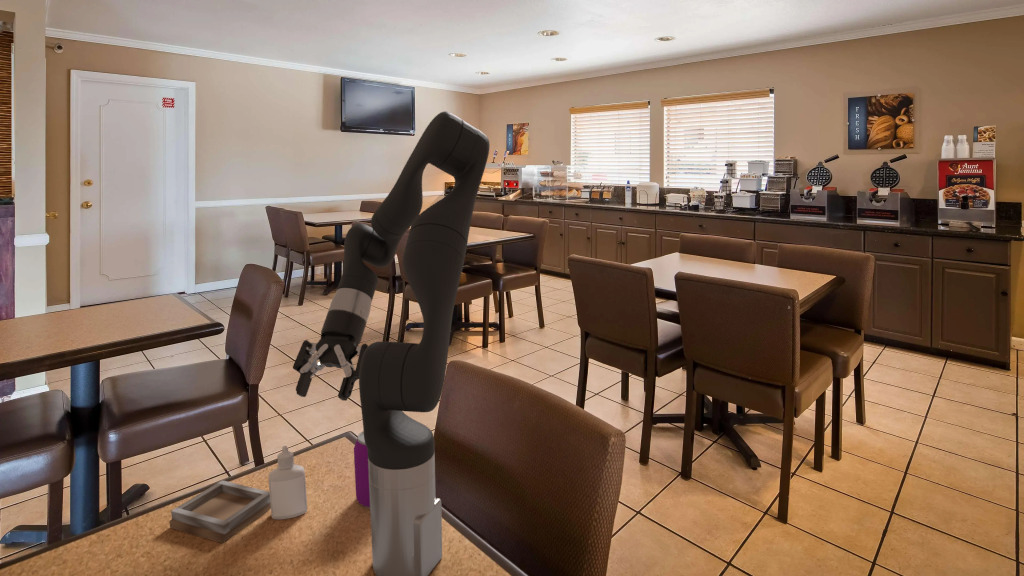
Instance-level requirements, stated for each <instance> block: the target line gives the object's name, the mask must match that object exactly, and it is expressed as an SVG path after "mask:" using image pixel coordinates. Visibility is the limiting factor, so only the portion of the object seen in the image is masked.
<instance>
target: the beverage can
mask: <svg viewBox="0 0 1024 576" xmlns="http://www.w3.org/2000/svg"><path fill="white" fill-rule="evenodd" d="M353 458H354V459H353V461H354V478H355V479H354V481H355V482H354V483H355V497H356V498H355V499H356V501H357V502H358V504H360V505H361V506H362V507H364V508H366V509H370V493H369V469H368V450H367V447H366V444H365V440H364V431H363V430H362V431H361V432H360V433H358V435H357V438H356V441H355V444H354V447H353Z"/></svg>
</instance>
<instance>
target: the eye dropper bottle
mask: <svg viewBox="0 0 1024 576" xmlns="http://www.w3.org/2000/svg"><path fill="white" fill-rule="evenodd" d="M294 459H295V458H294V452H293V451H289V449H288V446H287V445H283V446H282V448H281V452H280V453H279V454H278V455H277V467H276V468H274V469H272V470H271V471H270V472H269V473H268V492H269V493H270V505H271V508H270V515H271V516H270V517H271V518H272V519H273V520H288V519H292V518H296V517H299V516H302V515H304V514H305V513H307V511H308V503H307V502H308V501H307V500H308V499H307V485H306V472H305V468H304V467H303V466H302V465H300V464H295V461H294Z"/></svg>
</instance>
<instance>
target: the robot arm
mask: <svg viewBox="0 0 1024 576" xmlns="http://www.w3.org/2000/svg"><path fill="white" fill-rule="evenodd" d="M489 152H490V140H489V138H488V136H487V135H486V134H485V133H484V132H482V131H481V130H480V129H478V128H476V127H475V126H473V125H472V124H470V123H468V122H466V121H465V120H464V119H462V118H460V117H459V116H457V115H455V114H453V113H451V112H449V111H447V110H446V111H444V110H443V111H442V112H439V113H438V114H437V115H435V116H434V118H433V119H431V121H430V122H429V124H427V126H426V127H425V129H424V131H423V132H422V134H421V136H420V138H419V139H418V141H417V143H416V145H415V147H414V148H413V150H412V152H411V153H410V156H409V157H408V160H407V161H406V162H405V164H404V167H403V169H402V170H401V173H399V176H398V178H397V180H396V182H395V184H394V185H393V187H392V189H391V190H390V191H389V193H388V195H387V196H386V197H385V198H384V200H383V201H382V202H381V204H380V205H379V206H378V208H377V209H376V210H375V212H374V213H373V214H372V216H371V218H370V219H371V220H370V225H371V226H370V225H367V224H365V223H361V222H360V223H359V222H358V223H356V224H354V225H352V226H351V227H350V228H349V229H348V231H347V232H346V234H345V238H344V244H343V245H344V247H343V269H342V274H341V278H340V280H339V283H338V285H337V289H336V292H335V294H334V296H333V297H332V300H331V302H330V304H329V305H330V306H329V308H328V310H327V313H326V316H325V319H324V322H323V325H322V328H321V331H320V338H319V340H318V342H317V343H316V342H311V341H309V340H307V339H306V340H303V342H302V343H301V346H300V349H299V351H298V353H297V355H296V358H295V361H294V363H293V365H292V369H293V370H294V371H296V372H298V373H299V374H300V375H299V378H298V381H297V384H296V386H295V391H296V395H298V396H299V397H302V398H305V397H307V395H308V392H309V390H310V386H311V382H312V379H313V378H312V377H313V376H315V374H317V372H319V371H322V370H323V369H324V368H334V367H335V368H336V369H342V370H343V374H344V376H345V377H343V378H342V381H341V384H340V387H339V391H338V394H337V396H338V397H337V398H338V399H339V400H341V401H345V402H346V401H348V399H349V398H351V396H352V393H353V389H354V386H355V383H356V381H357V380H358V389H359V398H360V399H359V401H360V408H361V409H360V410H361V418H362V428H363V430H362V431H364V440H365V444H366V447H367V450H368V469H369V493H370V508H369V509H370V510H369V511H370V513H369V514H370V535H371V556H372V557H371V558H372V559H371V560H372V569H373V573H374V574H375V575H376V576H430V574H431V573H432V571H433V570H434V569H435V567H436V566H437V564H438V563H439V562H440V560H441V559H442V558H443V527H442V526H443V522H442V520H443V518H442V499H441V498H439V497H436V461H435V459H436V457H435V456H436V455H435V454H436V453H435V451H436V450H435V437H434V436H435V435H434V434H433V432H432V430H431V428H429V427H428V426H427V425H425V424H423V423H422V422H419V421H417V420H415V419H413V418H412V417H410V416H408V415H407V414H406V413H405V412H412V413H429V412H432V411H433V410H435V408H436V407H437V405H438V403H439V402H440V399H441V397H442V393H443V389H444V383H445V381H446V380H445V379H446V374H447V373H446V371H447V365H448V364H447V362H448V357H449V356H448V355H449V348H450V340H451V331H452V323H453V314H454V308H455V304H456V300H457V295H458V290H459V285H460V280H461V277H462V272H463V268H464V264H465V260H466V259H465V258H466V253H467V247H468V241H469V235H470V231H471V230H470V229H471V224H472V219H473V218H472V217H473V213H474V207H475V203H476V200H477V196H478V193H479V189H480V187H481V182H482V179H483V175H484V172H485V169H486V165H487V162H488V158H489V154H490V153H489ZM428 164H430V165H432V166H433V167H435V168H437V169H438V170H441V171H442V172H444V173H445V174H448V175H449V176H451V177H453V179H454V184H453V188H452V190H451V191H449V192H448V194H446V195H445V196H444V197H442V198H441V199H439V200H438V201H436V202H435V203H433V204H432V205H430V206H429V207H428V208H426V209H425V210H423V211H422V208H423V199H424V197H423V195H424V194H423V175H424V171H425V169H426V167H427V165H428ZM421 211H422V212H421ZM408 230H409V233H408V236H407V240H406V243H405V247H404V252H403V255H402V266H403V267H402V268H403V271H404V273H405V274H404V275H405V276H406V279H407V282H408V284H409V286H410V288H411V290H412V293H413V294H414V297H415V299H416V301H417V304H418V306H419V308H420V312H421V316H422V318H423V319H422V321H423V322H422V323H423V329H422V336H421V339H420V342H419V343H418V342H417V343H415V342H401V341H400V342H398V341H376V342H372V343H370V344H369V345H368V344H367V343H363V344H361V345H359V344H360V343H361V342H362V338H363V336H364V333H365V329H366V326H367V323H368V319H369V316H370V313H371V308H372V302H373V299H374V295H375V293H376V289H377V287H378V286H377V285H378V282H379V281H378V280H379V279H378V278H379V277H378V275H377V273H376V272H375V271H374V270H373V269H371V268H370V267H368V265H366V264H369V265H371V266H373V267H376V268H386V267H388V266H389V265H391V264H392V262H394V259H395V256H396V253H397V250H398V246H399V244H400V242H401V240H402V238H403V236H405V233H406V232H407V231H408ZM365 263H366V264H365ZM356 356H358V358H357V363H356V367H355V365H354V363H353V359H354V358H355V357H356ZM318 361H319V362H318Z"/></svg>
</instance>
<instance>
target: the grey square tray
mask: <svg viewBox="0 0 1024 576" xmlns="http://www.w3.org/2000/svg"><path fill="white" fill-rule="evenodd" d="M269 510H271V505H270V493H269V490H264V489H259V488H255V487H252V486H246V485H245V484H244V485H243V484H239V483H236V482H232V481H227V480H223V479H222V480H220V481H218V482H216V483H215V484H214V485H213V484H212V485H211V486H210V487H209V488H207V489H205V490H203V491H201V493H198V494H197V495H195V496H193V497H191V498H190V499H188V500H187V501H185V502H183V503H182V504H180V505H178V506H177V507H175V508H174V509H172V510H170V514H171V520H169V521H168V522H169V529H173V530H176V531H180V532H182V533H187V534H189V535H193V536H197V537H200V538H203V539H208V540H211V541H213V542H217V543H220V544H223V543H226V542H227V541H228V540H229V539H231V538H232V537H233V536H235V535H236V534H237V533H239V532H240V531H242V530H243V529H244V528H246V527H247V526H248V525H250V524H251V523H253V522H254V521H256V520H257V519H258V518H259V517H261V516H262V515H264V514H265V513H266V512H267V511H269Z"/></svg>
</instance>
